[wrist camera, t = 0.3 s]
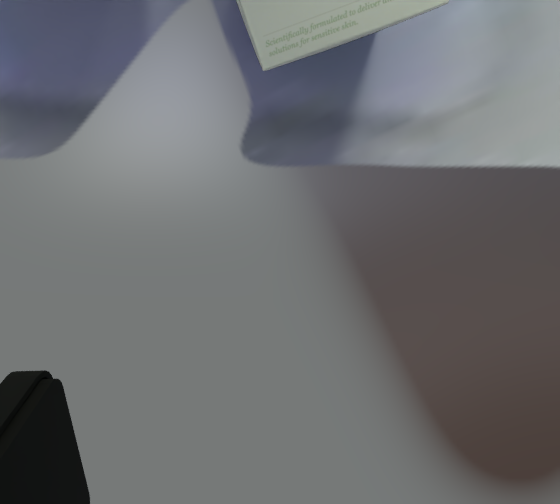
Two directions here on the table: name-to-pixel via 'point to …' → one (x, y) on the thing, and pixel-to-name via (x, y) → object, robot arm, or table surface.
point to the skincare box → (319, 24)
